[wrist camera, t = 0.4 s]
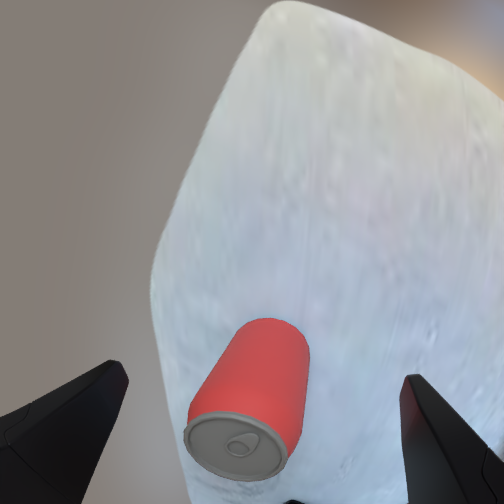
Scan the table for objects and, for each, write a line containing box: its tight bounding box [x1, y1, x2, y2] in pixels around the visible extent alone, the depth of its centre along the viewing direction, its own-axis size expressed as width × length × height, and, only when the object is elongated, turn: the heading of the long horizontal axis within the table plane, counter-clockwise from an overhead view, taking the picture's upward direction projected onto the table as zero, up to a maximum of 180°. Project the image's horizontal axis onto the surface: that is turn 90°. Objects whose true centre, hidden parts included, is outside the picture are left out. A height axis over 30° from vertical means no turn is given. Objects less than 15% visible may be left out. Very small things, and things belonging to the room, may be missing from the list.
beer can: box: [183, 318, 310, 482], centre depth 19 cm, size 7×7×12 cm
